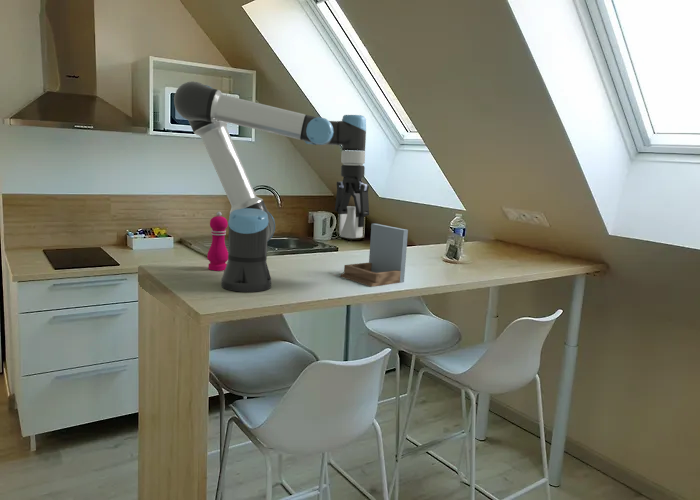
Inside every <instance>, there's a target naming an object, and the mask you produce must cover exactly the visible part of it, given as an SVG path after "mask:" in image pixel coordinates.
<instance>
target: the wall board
mask: <svg viewBox="0 0 700 500" xmlns="http://www.w3.org/2000/svg"><path fill="white" fill-rule="evenodd" d="M370 229H371V230H370V244H369V256H368V257H369V258H368V263H372V267H371V272H375V273H380V272H388V271H396V270H398V271H401V274H400V283H404V282H405V273H406V261H407V260H406V259H407V247H408V238H409V237H408V234H409V229H406V228H405V229H404V228H400V227H395V226H390V225H385V224H380V223H371V225H370ZM400 283H399V284H400Z"/></svg>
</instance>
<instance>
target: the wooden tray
mask: <svg viewBox="0 0 700 500" xmlns="http://www.w3.org/2000/svg"><path fill="white" fill-rule="evenodd" d="M371 267H372V263H369V262H362V263H361V262H360V263H351V264H344V267H343V273H340V278H344V279H346V280H349V281H353V282H354V283H355V282H356V283H359V284H362V285H366V286H368V287H371V288H372V287H377V286H379V287H380V286H386V285H393V284H400V274H401V271H398V270H396V271H388V272H380V273H375V272H371Z"/></svg>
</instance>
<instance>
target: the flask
mask: <svg viewBox="0 0 700 500" xmlns="http://www.w3.org/2000/svg"><path fill="white" fill-rule="evenodd" d="M346 212H347V217H346V221H345V224H344V227H343V229H342V232H341V234H339V237H340V238H344V239H345V238H346V239H359V238H361V237H355V217H356V215H357V213H356V208H355V205H354V206H353V205H352V206H351V205H348V206H347V211H346Z"/></svg>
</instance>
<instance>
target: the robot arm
mask: <svg viewBox="0 0 700 500" xmlns="http://www.w3.org/2000/svg"><path fill="white" fill-rule="evenodd" d="M173 96H174V97H173V105H174V108H175V110H176V112H177V113H178V114H179V115H180V116H181V117H182V118H183V119H185V120H187V121H188V123H189V126H190V127H191V129H192V132H193V133H194V135H196V136H198V137H200V138H201V141H202V142H203V144H204V147H205V149H206V152H207V154H208V156H209V158H210V161H211V163H212V165H213V167H214V170H215V171H216V175H217V176H218V178H219V181H220V183H221V185H222V188H223V190H224V192H225V194H226V197H227V199H228V201H229V203H230V205H231V208H230V211H229V217H228V220H227V222H228V240H227V241H228V242H227V243H228V244H227V247H228V248H227V251H228V260H227V262H226V264H227V265H226V268H225V270H224V272H223V274H222V277H221V284H220V285H221V288H222V289H225V290H228V291H234V292H240V293H241V292H243V293H247V292H248V293H253V292H263V291H267V290H270V289H271V288H272V277H271V273H270V270H269V266H268V263H267V256H268V242H269V241H270V240H271V239H272V238H273V236H274V234H275V231H276V222H275V218H274V217H273V215H272V213H270V212H269V210H268V208H267V206H266V204H265V202H264V199H263V198H261V197H258V196H257V195H256V192H255V189H254V188H253V185H252V183H251V182H250V179H249V176H248V174H247V172H246V169H245V167H244V165H243V162H242V160H241V158H240V155H239V154H238V153H239V152H238V151H237V149H236V145H235V144H234V142H233V139H232V137H231V135H230V132H229V130H228V128H227V125H228V124H232V125H237V126H240V127H245V128H249V129H253V130H257V131H261V132H262V131H263V132H266V133H270V134H275V135H278V136H283V137H288V138H290V139H291V138H292V139H296V140H300V141H304V143H305V144H307V145H312V146H317V145H319V146H320V145H321V146H327V145H328V146H341V158H340V159H341V161H340V162H341V164H342V165H341V167H340V169H341V170H340V176H341V177H343V179H342V181H336V196H335V206H334V212H337V213H338V223H339V233H338V235H340V234H341V232H342V229H343V227H344V224H345V221H346V217H347V206H349V203H350V200H351V197H352V198H353V202H354V207H355V208H356V210H355V213H356V217H355V237H360V238H363V234H364V233H363V232H364V226H365V217H367V216H369V215H370V208H369V207H370V205H369V187H370V184H369V183H364V182H363V178H364V177H365V172H366V171H365V169H366V168H365V165H364V164H365V161H366V160H365V159H366V141H367V140H366V138H367V119H366V117H365V116H364V115H360V114H344V115H343V116H342V119H341V120H328V119H327V118H324V117H318V116H314V115H308V114H306V113H302V112H298V111H297V112H296V111H293V110H289V109H285V108H279V107H276V106H272V105H267V104H264V103H260V102H254V101H251V100H247V99H243V98H238V97H235V96H230V95H227V94H226V95H225V94H223V93H222V91H221V90H220V89H216V88H213V87H211V86H209V85H208V84H203V83H201V82H198V81H194V80H193V81H188V82H184V83H183V84H181V85H180V86H178V88H177V89H176V90H175V93H174V95H173Z"/></svg>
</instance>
